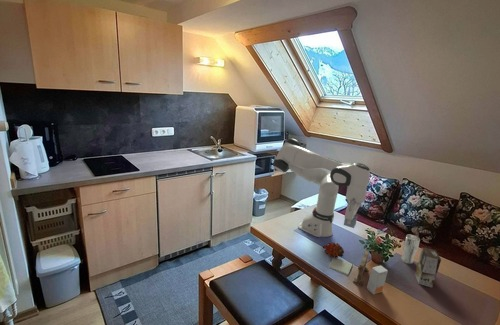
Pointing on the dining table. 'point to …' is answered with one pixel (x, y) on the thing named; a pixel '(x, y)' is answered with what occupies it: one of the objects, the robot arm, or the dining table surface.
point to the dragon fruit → (333, 250)
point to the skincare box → (377, 279)
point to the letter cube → (351, 222)
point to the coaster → (340, 266)
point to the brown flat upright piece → (362, 269)
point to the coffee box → (427, 267)
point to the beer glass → (410, 248)
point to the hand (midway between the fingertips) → (350, 221)
